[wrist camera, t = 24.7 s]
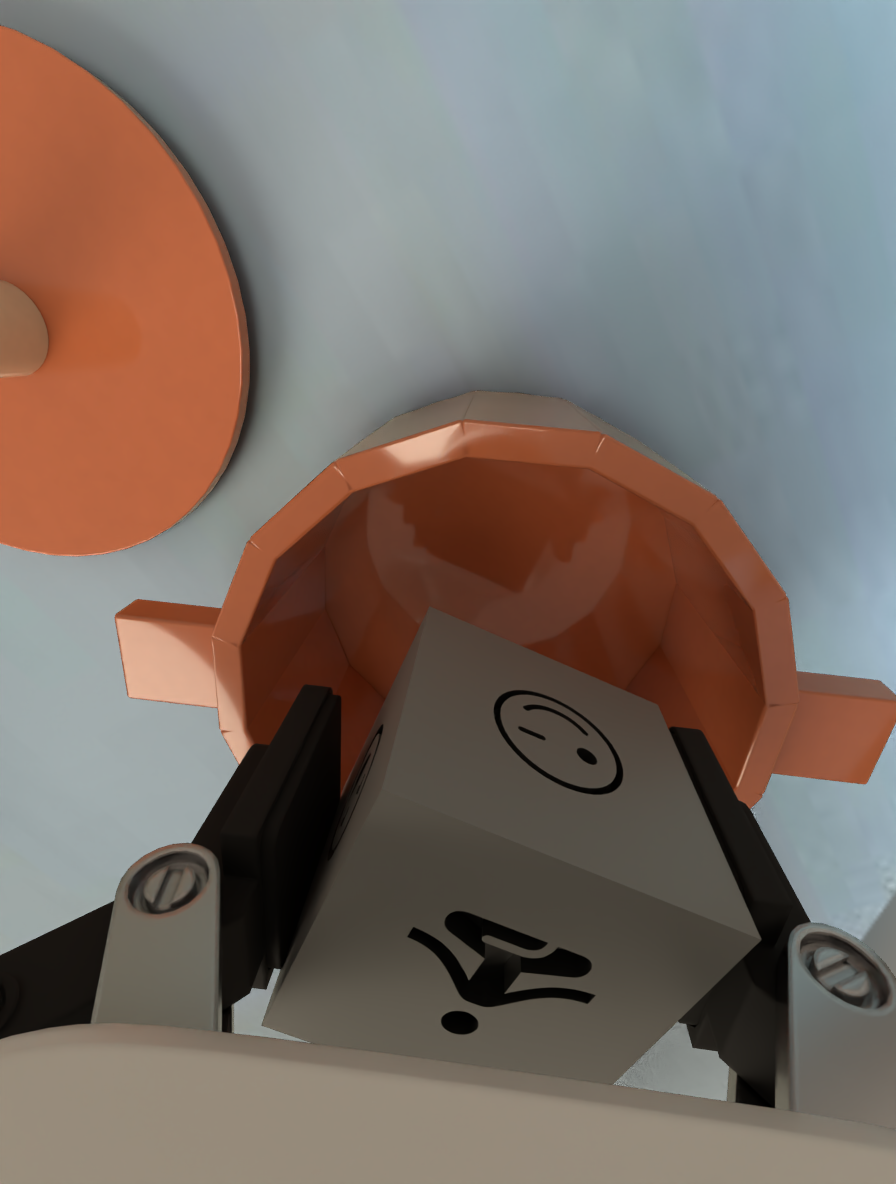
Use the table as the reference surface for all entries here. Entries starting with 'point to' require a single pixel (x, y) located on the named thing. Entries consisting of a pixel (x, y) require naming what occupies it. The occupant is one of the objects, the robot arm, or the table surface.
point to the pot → (511, 592)
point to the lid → (106, 318)
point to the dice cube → (511, 874)
